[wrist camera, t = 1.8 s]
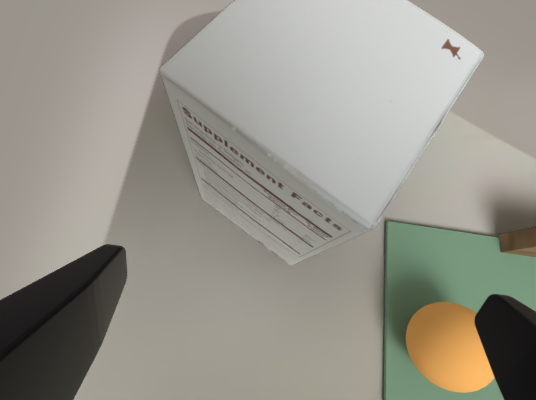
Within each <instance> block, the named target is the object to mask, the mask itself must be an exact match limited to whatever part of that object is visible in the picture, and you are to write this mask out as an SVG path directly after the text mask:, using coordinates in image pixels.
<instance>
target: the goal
mask: <svg viewBox="0 0 536 400" xmlns="http://www.w3.org/2000/svg"><path fill="white" fill-rule="evenodd" d="M499 241H500V252H502V253H509V254H516V255H523V256H530V257H536V227H531V228H527V229H522V230H518V231H513V232H509V233H504V234H500V235H499Z"/></svg>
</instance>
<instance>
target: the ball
mask: <svg viewBox="0 0 536 400" xmlns="http://www.w3.org/2000/svg"><path fill="white" fill-rule="evenodd" d="M476 314H477V313H476V312H474V311H473V310H471V309H469V308H467V307H465V306H462V305H459V304H456V303H451V302H436V303H432V304H429V305H426V306H424V307H422V308H421V309H419V310H418V311H417V312H416V313H415V314H414V315H413V316H412V318H411V320H410V322H409V324H408V326H407V330H406V345H407V350H408V353H409V356H410V358H411V360H412V362H413V364H414V365H415V366H416V368H417V369H418V371H419V372H420V373H421V374H422V375H423V376H424V377H425V378H427V379H428V380H429V381H430V382H432V383H433V384H435V385H437V386H439V387H441V388H443V389H446V390H449V391H453V392H460V393H467V392H474V391H477V390H480V389H482V388H484V387H486V386H487V385H488V384H489V383H490V382H491V381H492V380H493V379H494V378H495V377H494V375H493V372H492V369H491V367H490V364H489V362H488V359H487V356H486V354H485V351H484V348H483V346H482V343H481V340H480V338H479V335H478V332H477V330H476V327H475V322H474V320H475V316H476Z"/></svg>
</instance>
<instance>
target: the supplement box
mask: <svg viewBox="0 0 536 400" xmlns="http://www.w3.org/2000/svg"><path fill="white" fill-rule="evenodd" d="M483 57H484V53H483V52H482V51H481V50H479V48H477V47H476V46H475V45H473V44H472V43H470V42H469V41H468V40H467V39H465V38H464V37H463V36H461V35H459V34H458V33H457V32H455V31H454V30H452V29H451V28H449V27H448V26H446V25H445V24H443V23H442V22H440V21H439V20H437V19H436V18H434V17H433V16H431V15H430V14H428V13H426V12H425V11H423V10H422V9H420V8H419V7H417V6H416V5H414V4H412V3H411V2H409V1H408V0H233V1H232V2H231V3H230V4H229V5H228V6H227V7H226V8H225V9H224V10H222V11H221V12H220V13H219V14H218V15H217V16H216V17H215V18H214V19H213V20H212V21H211V22H210V23H208V24H207V25H206V26H205V27H204V28H203V29H202V30H201V31H200V32H199V33H197V34H196V35H195V36H194V37H193V38H192V39H191V40H190V41H189V42H188V43H186V44H185V45H184V46H183V47H182V48H181V49H180V50H179V51H178V52H177V53H176V54H175V55H174V56H172V57H171V58H170V59H169V60H168V61H167V62H166V63H165V64H163V65H162V66H161V68H160V69H159V70H160V73H161V76H162V79H163V82H164V85H165V88H166V91H167V94H168V97H169V100H170V103H171V107H172V110H173V113H174V116H175V119H176V122H177V125H178V128H179V131H180V134H181V137H182V140H183V143H184V146H185V149H186V152H187V155H188V158H189V161H190V165H191V168H192V171H193V173H194V177H195V180H196V183H197V186H198V189H199V192H200V196H201V198H202V200H204V201H205V202H207V203H208V204H209V205H211V206H212V207H213V208H215V209H216V210H217V211H219V212H220V213H221V214H223V215H224V216H225V217H227V218H228V219H229V220H231V221H232V222H233V223H235V224H236V225H237V226H239V227H240V228H241V229H243V230H244V231H245V232H246V233H248V234H249V235H250V236H252V237H253V238H254V239H256V240H257V241H258V242H260V243H261V244H262V245H264V246H265V247H266V248H268V249H269V250H270V251H272V252H273V253H274V254H276V255H277V256H278V257H280V258H281V259H282V260H284V261H285V262H286V263H288V264H289V265H294V264H296V263H298V262H300V261H302V260H305V259H307V258H309V257H311V256H314V255H316V254H318V253H321V252H323V251H325V250H328V249H330V248H332V247H334V246H337V245H339V244H341V243H344V242H346V241H348V240H350V239H352V238H355V237H357V236H359V235H361V234H363V233H365V232H368V231H370V230H372V229H374V228H375V226H376V225H377V224H378V223H379V221H380V220H381V219H382V217H383V215H384V213H385V212H386V210H387V209H388V207H389V206H390V204H391V203H392V201H393V200H394V198H395V196H396V195H397V193H398V191H399V190H400V188H401V186H402V185H403V183H404V182H405V180H406V178H407V177H408V175H409V174H410V172H411V170H412V169H413V167H414V166H415V164H416V163H417V161H418V159H419V158H420V156H421V155H422V153H423V151H424V150H425V148H426V147H427V145H428V144H429V142H430V141H431V139H432V138H433V137H434V135H435V134H436V132H437V131H438V129H439V128H440V126H441V125H442V123H443V121H444V118H445V117H446V115H447V113H448V112H449V110H450V109H451V107H452V105H453V104H454V102H455V100H456V99H457V97H458V96H459V94H460V93H461V91H462V90H463V88H464V87H465V85H466V84H467V82H468V80H469V79H470V77H471V75H472V74H473V72H474V71H475V69H476V68H477V66H478V65H479V63H480V62H481V60H482V59H483Z"/></svg>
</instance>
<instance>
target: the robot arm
mask: <svg viewBox="0 0 536 400" xmlns="http://www.w3.org/2000/svg"><path fill="white" fill-rule="evenodd" d="M126 279H127V264H126V251H125V248H124V247H123V246H118V245H110V244H106V245H103V246H101V247H99V248H97V249H95V250H93V251H92V252H90V253H88V254H86V255H84V256H82V257H80V258H78V259H77V260H75V261H73V262H71V263H69V264H67V265H65V266H63V267H62V268H60V269H58V270H56V271H54V272H52V273H50V274H48V275H47V276H45V277H43V278H41V279H39V280H37V281H35V282H33V283H32V284H30V285H28V286H26V287H24V288H22V289H21V290H18V291H16V292H14V293H13V294H11V295H9V296H7V297H5V298H3V299H1V300H0V400H73V399H74V397H75V395H76V393H77V391H78V389H79V388H80V386H81V384H82V382H83V380H84V378H85V376H86V374H87V372H88V370H89V368H90V366H91V364H92V363H93V361H94V359H95V357H96V355H97V353H98V351H99V349H100V347H101V344H102V342H103V339H104V337H105V335H106V332H107V330H108V327H109V324H110V322H111V319H112V317H113V314H114V311H115V309H116V306H117V304H118V301H119V299H120V296H121V293H122V291H123V288H124V286H125V283H126ZM474 322H475V327H476V330H477V332H478V335H479V338H480V340H481V343H482V346H483V348H484V351H485V354H486V356H487V359H488V362H489V364H490V367H491V369H492V372H493V375H494V377H495V380H496V382H497V385H498V387H499V389H500V392H501V394H502V396H503V398H504V400H536V311H534V310H532V309H531V308H529V307H528V306H526V305H524V304H523V303H521V302H519V301H518V300H516V299H515V298H513V297H511V296H508V295H501V294H491V295H489V296H488V297H487V299H486V300H485V302H484V303H483V305H482V306H481V308H480V309H479V311H478V312H477V314H476V316H475V320H474Z"/></svg>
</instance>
